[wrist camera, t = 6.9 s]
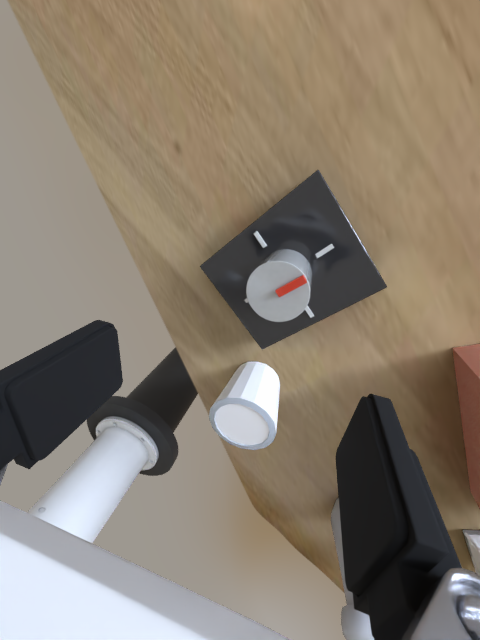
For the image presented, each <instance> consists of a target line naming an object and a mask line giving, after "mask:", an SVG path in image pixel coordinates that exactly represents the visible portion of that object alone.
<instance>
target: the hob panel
mask: <svg viewBox="0 0 480 640" xmlns="http://www.w3.org/2000/svg"><path fill="white" fill-rule="evenodd" d="M282 249H289V250H294V251H297V252H299V253H300V254H302V255H303V256H304V257H305V258H306V259H307V260H308V262H309V263H310V266H311V269H312V284H311V293H310V299H309V303H308V305H307V307H306V308H305V310H304V311H303V312H302V313H301V314H300V315H299V316H297V317H296V318H294V319H292V320H289V321H284V322H274V321H270V320H267V319H265V318H263V317H261V316H259V315H258V314H257V313H256V312H255V311H254V310H253V309H252V307H251V306H250V304H249V302H248V299H247V294H246V286H247V282H248V279H249V277H250V275H251V274H252V272H253V271H254V270H255V269H256V268H257V267H258V266H259V265H260V264H261V263H262V261H263V260H264V259H265V258H266V257H267V256H268V255H270V254H271V253H273V252H275V251H278V250H282ZM200 267H201V269H202V270H203V271H204V273H205V274H206V275H207V277H208V278H209V279H210V281H211V282H212V283H213V285H214V286H215V287H216V289H217V290H218V291H219V293H220V294H221V295H222V297H223V298H224V299H225V301H226V302H227V303H228V305H229V306H230V307H231V309H232V310H233V311H234V313H235V314H236V315H237V317H238V318H239V319H240V321H241V322H242V323H243V325H244V326H245V327H246V329H247V330H248V331H249V333H250V334H251V335H252V337H253V338H254V339H255V341H256V342H257V343H258V345H259V346H260V347H261V349H264V348H266V347H268V346H270V345H272V344H274V343H276V342H278V341H280V340H282V339H284V338H286V337H288V336H290V335H292V334H294V333H296V332H298V331H300V330H302V329H304V328H306V327H308V326H310V325H312V324H314V323H316V322H318V321H320V320H322V319H324V318H326V317H328V316H330V315H332V314H334V313H336V312H338V311H340V310H342V309H344V308H346V307H348V306H350V305H352V304H354V303H356V302H358V301H360V300H362V299H364V298H366V297H368V296H370V295H372V294H374V293H376V292H378V291H380V290H382V289H384V288H386V287H387V285H386V284H385V282H384V280H383V279H382V277H381V275H380V274H379V272H378V270H377V268H376V267H375V265H374V263H373V262H372V260H371V258H370V256H369V255H368V253H367V251H366V250H365V248H364V246H363V245H362V243H361V241H360V239H359V238H358V236H357V234H356V233H355V231H354V229H353V227H352V226H351V224H350V222H349V221H348V219H347V217H346V216H345V214H344V212H343V210H342V209H341V207H340V205H339V204H338V202H337V200H336V199H335V197H334V195H333V193H332V192H331V190H330V188H329V187H328V185H327V183H326V181H325V180H324V178H323V176H322V175H321V173H320V171H319V170H317V171H316V172H315V173H313V174H312V175H311V176H310V177H308V178H307V179H306V180H305V181H304V182H302V183H301V184H300V185H299V186H297V187H296V188H295V189H294V190H293V191H291V192H290V193H289V194H288V195H286V196H285V197H284V198H283V199H281V200H280V201H279V202H278V203H277V204H275V205H274V206H273V207H272V208H270V209H269V210H268V211H267V212H266V213H264V214H263V215H262V216H261V217H259V218H258V219H257V220H256V221H255V222H253V223H252V224H251V225H250V226H248V227H247V228H246V229H245V230H244V231H242V232H241V233H240V234H239V235H237V236H236V237H235V238H234V239H232V240H231V241H230V242H229V243H228V244H226V245H225V246H224V247H223V248H221V249H220V250H219V251H218V252H217V253H215V254H214V255H213V256H212V257H210V258H209V259H208V260H207V261H206V262H204V263H203V264H202V265H201V266H200Z"/></svg>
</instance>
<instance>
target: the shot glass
mask: <svg viewBox="0 0 480 640" xmlns="http://www.w3.org/2000/svg"><path fill="white" fill-rule="evenodd" d="M279 392H280V381H279V377H278V375H277V374H276V372H275V371H274V370H273V369H272V368H270V367H269V366H268V365H266V364H263V363H260V362H257V361H256V362H246V363H244V364H242V365H240V366H239V368H238V369H237V370H236V371H235V373H234V374H233V376H232V377H231V379H230V380H229V382H228V383H227V385H226V386H225V388H224V389H223V391H222V392H221V394H220V395H219V397H218V398H217V400H216V401H215V403H214V404H213V406H212V407H211V409H210V415H209V419H210V422H211V425H212V428H213V429H214V430H215V431H216V433H217V434H218V435H219V436H220V437H221V438H222V439H224V440H225V441H227V442H228V443H229V444H231V445H234V446H237V447H239V448H242V449H251V450H257V449H261V448H265V447H267V446H268V445H269V444H271V443H272V442H273V441H274V438H275V435H276V431H277V418H278V405H279Z"/></svg>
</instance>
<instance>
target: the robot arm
mask: <svg viewBox="0 0 480 640" xmlns="http://www.w3.org/2000/svg"><path fill="white" fill-rule="evenodd" d="M122 382H123V379H122V371H121V361H120V352H119V343H118V334H117V330H116V329H115V327H114V325H113V324H111V323H108V322H105V321H101V320H96V321H94V322H92V323H90V324H88V325H86V326H84V327H82V328H80V329H79V330H76V331H74V332H73V333H71V334H69V335H67V336H65V337H63V338H61V339H59V340H57V341H56V342H53V343H52V344H50V345H48V346H46V347H44V348H42V349H40V350H38V351H36V352H34V353H33V354H31V355H29V356H27V357H25V358H23V359H21V360H19V361H17V362H15V363H13V364H11V365H10V366H8V367H6V368H4V369H2V370H0V485H1V482H2V479H3V476H4V473H5V471H6V468H7V464H8V463H9V462H10V461H12V460H13V459H14V460H15V462H16V464H19V465H21V466H23V467H25V468H28V469H30V468H31V467H32V466H33V465H34V464H35V463H36V462H38V461H39V460H42V459H44V458H45V457H47V456H48V455H49V454H50V453H51V452H52V451H53V450H54V449H55V448H56V447H58V445H60V444H61V443H62V442H63V441H64V440H65V439H66V438H67V437H68V436H69V435H70V434H71V433H73V432H74V431H75V430H76V429H77V428H78V427H79V426H80V425H81V424H82V423H83V422H84V421H85V420H86V419H88V418H89V417H90V416H91V415H92V414H93V413H94V412H95V411H96V410H97V409H98V408H99V407H100V406H101V405H102V404H104V403H105V402H106V401H107V400H108V399H109V398H110V397H111V396H112V395H113V394H114V393H115V392H116V391H117V390H118V389H119V388H120V387H121V385H122ZM96 436H97V439H96V440H95V441H94V442H93V443H92V444H91V445H90V446H89V447H88V448H87V449H86V450H85V451H84V453H82V455H81V456H80V457H79V458H78V459H77V460H76V461H75V462H74V463H73V464H72V465H71V466H70V467H69V468H68V469H67V471H66V472H65V473H64V474H63V475H62V476H61V477H60V478H59V479H58V480H57V481H56V482H55V483H54V484H53V485H52V487H51V488H50V489H49V490H48V491H47V492H46V493H45V494H44V495H43V496H42V497H41V498H40V499H39V501H37V502H36V504H35V505H34V506H33V507H32V508H31V509H30V510H29V511H28V512H24V511H22V510H20V509H18V508H16V507H14V506H11V505H9V504H7V503H5V502H3V501H1V500H0V640H291V639H289V638H287V637H285V636H283V635H281V634H280V633H277V632H275V631H274V630H271V629H269V628H268V627H266V626H264V625H262V624H260V623H258V622H256V621H254V620H252V619H250V618H247V617H245V616H243V615H241V614H239V613H237V612H235V611H233V610H231V609H229V608H227V607H224V606H222V605H220V604H218V603H216V602H214V601H212V600H210V599H208V598H206V597H204V596H201V595H199V594H197V593H195V592H193V591H191V590H189V589H187V588H185V587H183V586H181V585H178V584H177V583H174V582H172V581H170V580H168V579H166V578H164V577H162V576H160V575H158V574H156V573H153V572H151V571H149V570H147V569H145V568H143V567H141V566H139V565H137V564H135V563H132V562H130V561H128V560H126V559H124V558H122V557H120V556H118V555H116V554H113V553H111V552H109V551H107V550H105V549H103V548H101V547H99V546H97V545H94V544H92V543H93V541H94V540H95V538H96V537H97V535H98V534H99V532H100V530H101V529H102V528H103V526H104V525H105V523H106V522H107V520H108V519H109V517H110V516H111V514H112V513H113V511H114V510H115V508H116V507H117V505H118V504H119V502H120V501H121V499H122V498H123V496H124V495H125V493H126V492H127V490H128V489H129V487H130V486H131V484H132V483H133V481H134V480H135V478H136V477H137V475H138V474H139V472H140V471H141V470H148V469H150V468H152V467H153V466H154V465H155V463H156V462H157V460H158V457H159V452H158V448H157V446H156V444H155V442H154V440H153V439H152V438H151V436H150V435H149V434H148V433H147V432H146V431H145V430H144V429H142V428H141V427H140V426H138V425H137V424H135V423H133V422H132V421H130V420H127V419H125V418H121V417H115V416H111V417H106V418H104V419H103V420H102V421H101V422H100V423H99V424H98V425H97V427H96ZM336 469H337V482H338V495H339V508H340V521H341V534H342V547H343V560H344V573H345V583H346V588H347V590H348V591H350V592H352V593H353V602H354V609H355V610H357V611H360V612H362V613H364V614H367V615H369V618H370V626H371V633H372V636H373V637H374V640H480V575H478V574H476V573H474V572H473V571H470V570H467V569H463V568H462V567H461V564H460V562H459V559H458V557H457V554H456V552H455V549H454V547H453V544H452V542H451V539H450V537H449V534H448V532H447V529H446V527H445V524H444V522H443V519H442V517H441V514H440V512H439V509H438V507H437V504H436V502H435V499H434V497H433V495H432V492H431V490H430V487H429V485H428V482H427V480H426V477H425V475H424V472H423V470H422V467H421V465H420V462H419V460H418V457H417V456H416V454H415V452H414V451H413V450H412V449H410V448H409V446H408V443H407V441H406V438H405V435H404V433H403V430H402V428H401V425H400V422H399V420H398V417H397V414H396V412H395V409H394V407H393V404H392V402H391V400H390V399H388V398H385V397H381V396H377V395H373V394H369V395H368V397H364V396H363V397H362V398H361V399H360V401H359V403H358V406H357V408H356V410H355V412H354V414H353V416H352V419H351V421H350V423H349V425H348V427H347V429H346V431H345V434H344V436H343V438H342V440H341V442H340V444H339V447H338V449H337V452H336Z"/></svg>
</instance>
